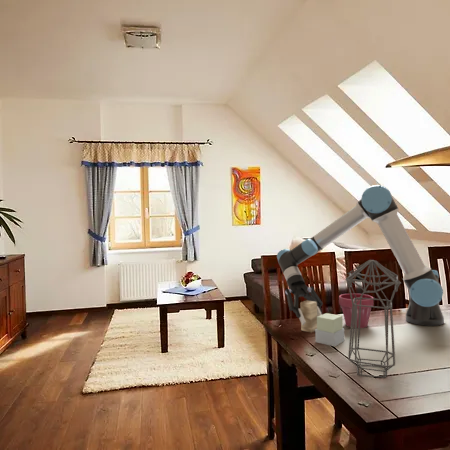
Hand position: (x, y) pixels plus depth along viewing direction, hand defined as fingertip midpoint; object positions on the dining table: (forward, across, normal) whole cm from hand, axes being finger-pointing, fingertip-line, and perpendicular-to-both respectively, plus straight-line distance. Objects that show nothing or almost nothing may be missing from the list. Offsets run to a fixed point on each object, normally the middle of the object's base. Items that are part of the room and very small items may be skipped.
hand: (313, 322), depth 158 cm
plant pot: (+2, -22, -4) cm, 23 cm away
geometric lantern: (+33, +3, +27) cm, 42 cm away
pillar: (+1, 0, -5) cm, 5 cm away
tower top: (+9, 0, +10) cm, 13 cm away
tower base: (+12, 0, +6) cm, 13 cm away
